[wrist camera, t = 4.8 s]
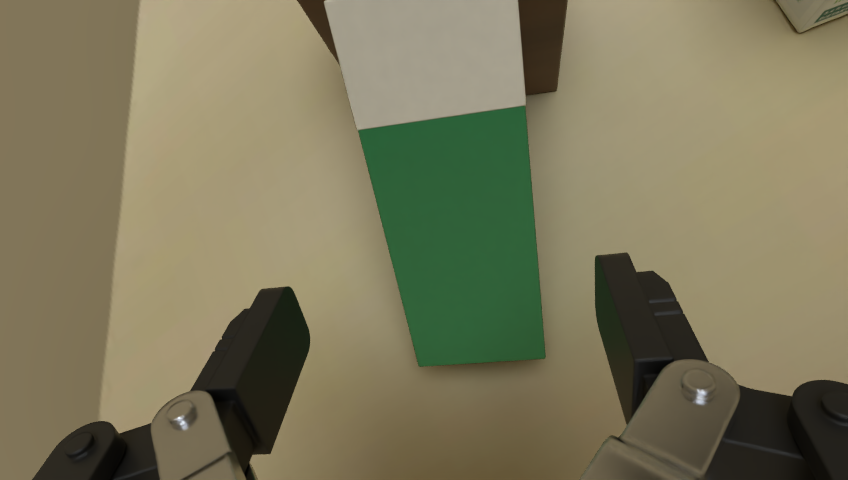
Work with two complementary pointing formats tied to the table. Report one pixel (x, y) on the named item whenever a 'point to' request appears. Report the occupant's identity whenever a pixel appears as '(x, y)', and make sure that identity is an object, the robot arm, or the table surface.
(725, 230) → the table surface
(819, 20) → the syrup box
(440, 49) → the block
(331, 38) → the walnut block
